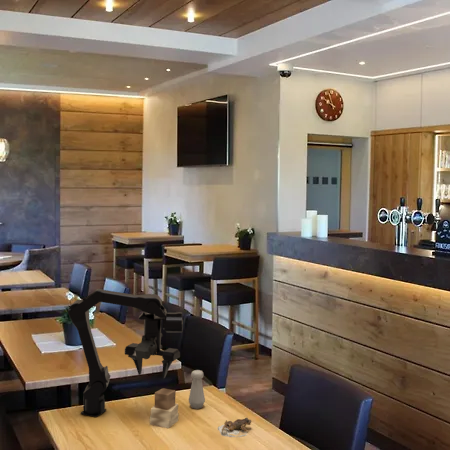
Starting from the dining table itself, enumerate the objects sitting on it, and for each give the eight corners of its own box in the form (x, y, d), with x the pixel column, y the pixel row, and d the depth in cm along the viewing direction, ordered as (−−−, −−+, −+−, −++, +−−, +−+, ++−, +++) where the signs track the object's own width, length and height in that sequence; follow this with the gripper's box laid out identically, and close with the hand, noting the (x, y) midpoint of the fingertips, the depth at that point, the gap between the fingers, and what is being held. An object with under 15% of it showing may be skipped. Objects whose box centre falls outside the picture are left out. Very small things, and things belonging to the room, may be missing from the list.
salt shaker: (202, 410, 215) (203, 374, 214) (186, 408, 216) (187, 373, 215) (206, 404, 220) (207, 369, 219) (191, 402, 221) (191, 367, 220)
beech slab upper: (150, 417, 201) (150, 408, 200) (158, 409, 207) (158, 401, 207) (170, 420, 199) (171, 411, 199) (177, 412, 206) (178, 403, 205)
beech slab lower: (149, 425, 202) (149, 416, 201) (159, 418, 208) (160, 409, 208) (168, 429, 199) (168, 420, 199) (178, 421, 205) (178, 413, 205)
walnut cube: (154, 407, 202) (154, 392, 201) (162, 402, 206) (162, 388, 206) (167, 410, 200) (167, 395, 199) (175, 405, 204) (175, 390, 204)
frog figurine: (247, 422, 207) (248, 411, 206) (256, 437, 195) (257, 425, 195) (214, 424, 204) (214, 413, 204) (221, 439, 193) (222, 427, 192)
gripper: (116, 334, 205) (115, 379, 206) (166, 340, 198) (165, 387, 199) (132, 326, 215) (132, 370, 216) (181, 332, 208) (180, 377, 210)
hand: (151, 376), depth 210 cm, fingers open, 9 cm apart
